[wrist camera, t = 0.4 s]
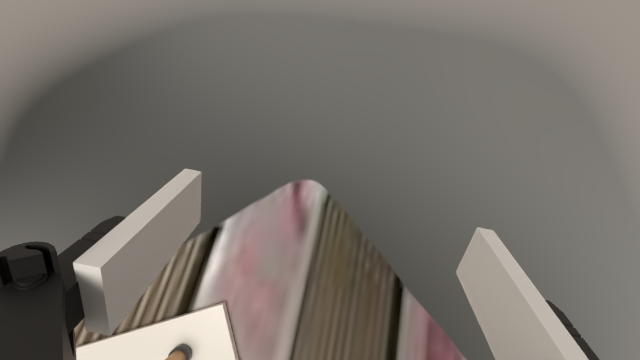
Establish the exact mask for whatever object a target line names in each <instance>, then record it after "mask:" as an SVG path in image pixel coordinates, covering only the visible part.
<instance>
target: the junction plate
mask: <svg viewBox="0 0 640 360" xmlns="http://www.w3.org/2000/svg"><path fill="white" fill-rule="evenodd" d="M76 360H239V358H238V353H237V349H236V345H235V341H234V337H233V332H232V328H231V324H230V320H229V316H228V312H227V307H226V303H225V302H223V303H219V304H216V305H213V306H209V307H206V308H203V309H199V310H196V311H193V312H190V313H186V314H183V315H180V316H176V317H173V318H170V319H166V320H163V321H160V322H156V323H153V324H150V325H146V326H143V327H140V328H136V329H133V330H130V331H127V332H123V333H120V334H117V335H113V336H110V337H107V338H103V339H100V340H97V341H93V342H90V343H87V344H83V345H80V346H77V347H76Z"/></svg>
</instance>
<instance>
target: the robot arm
mask: <svg viewBox="0 0 640 360" xmlns="http://www.w3.org/2000/svg"><path fill="white" fill-rule="evenodd" d="M200 207H201V172H199V171H194V170H190V169H184V170H183V171H182V172H181V173H179V174H178V175H177V176H176V177H175V178H174V179H172V180H171V181H170V182H169V183H167V184H166V185H165V186H164V187H163V188H161V189H160V190H159V191H158V192H157V193H156V194H154V195H153V196H152V197H151V198H150V199H148V200H147V201H146V202H145V203H143V204H142V205H141V206H140V207H139V208H137V209H136V210H135V211H134V212H133V213H131V214H130V215H129V216H128V217H122V216H115V217H112V218H110V219H108V220H105V221H103V222H101V223H100V224H99V225H97V226H96V227H95V228H93V229H92V230H91V232H88V233H87V234H86V235H84V236H83V237H82V238H81V239H79V240H78V241H76V242H75V243H74V244H72V245H71V246H70V247H69V248H67V249H66V250H65V251H63V252H62V253H61V254H59V255H58V256H57V252H56V249H55V247H54V246H53V245H51V244H49V243H45V242H28V243H23V244H19V245H15V246H12V247H10V248H8V249H5V250H3V251H1V252H0V360H76V341H75V332H74V328H75V327H76V326H77V325H78V324H79V323H80V322H81V320H82V319H83V318H84V321H85V326H86V331H89V332H94V333H100V334H105V335H110V336H111V335H112V333H113V332H114V331H115V329H116V328H117V327H118V326H119V324H120V323H121V322H122V320H123V319H124V318H125V317H126V315H127V314H128V313H129V312H130V310H131V309H132V308H133V306H134V305H135V304H136V303H137V301H138V300H139V299H140V297H141V296H142V295H143V294H144V292H145V291H146V290H147V289H148V287H149V286H150V285H151V283H152V282H153V281H154V280H155V278H156V277H157V276H158V274H159V273H160V272H161V271H162V269H163V268H164V267H165V266H166V264H167V263H168V262H169V260H170V259H171V258H172V257H173V255H174V254H175V253H176V251H177V250H178V249H179V248H180V246H181V245H182V244H183V243H184V241H185V240H186V239H187V237H188V236H189V235H190V234H191V232H192V231H193V230H194V228H195V227H196V226H197V225H198V223H199V222H200V211H201V208H200ZM456 274H457V276H458V278H459V280H460V282H461V284H462V287H463V289H464V291H465V294H466V296H467V298H468V300H469V302H470V305H471V307H472V309H473V311H474V313H475V316H476V318H477V320H478V322H479V324H480V327H481V329H482V331H483V333H484V335H485V337H486V340H487V342H488V344H489V346H490V349H491V351H492V353H493V355H494V357H495V360H599V359H598V357H597V356H596V355H595V353H594V352H593V351H592V350H591V348H590V347H589V346H588V345H587V343H586V342H585V340H584V339H583V338H581V335H580V334H579V333H578V331H577V330H576V329H575V328H573V325H572V324H571V322H570V321H569V320H568V318H567V317H566V316H565V315H564V313H563V312H561V311H560V310H559V309H558V308H557V307H556V306H555V305H553V304H552V303H551V302H550V301H547V300H544V298H543V297H542V296H541V294H540V293H539V292H538V290H537V289H536V288H535V286H534V285H533V283H532V282H531V281H530V279H529V278H528V277H527V275H526V274H525V273H524V272H523V270H522V269H521V267H520V266H519V265H518V263H517V262H516V260H515V259H514V258H513V256H512V255H511V254H510V252H509V251H508V250H507V248H506V247H505V246H504V244H503V243H502V242H501V240H500V239H499V238H498V236H497V235H496V233H495V232H494V231H493V230H488V229H483V228H478V227H477V229H476V231H475V233H474V235H473V237H472V239H471V242H470V244H469V246H468V248H467V250H466V252H465V254H464V256H463V258H462V260H461V262H460V264H459V266H458V269H457V271H456Z"/></svg>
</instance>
